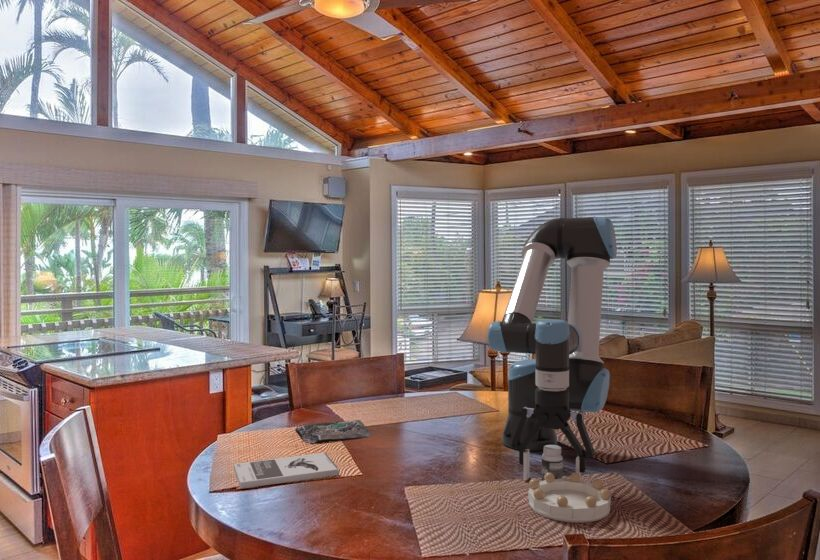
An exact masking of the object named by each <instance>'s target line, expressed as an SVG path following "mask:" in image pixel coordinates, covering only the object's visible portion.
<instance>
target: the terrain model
mask: <svg viewBox="0 0 820 560" xmlns="http://www.w3.org/2000/svg"><path fill="white" fill-rule="evenodd" d="M295 432H296V433H297V435H298V436H299V437H300V439H301V440H302V442H303V443H304V442H305V444H307V443H310V444H309V445H314V443H317V444H323V443H322V442H325V443H330V442H329V441H334V442H339V441H340V442H342V441H349V440H359V439H367V438H368V437H370V436H372V432H371V431H370V430H369V429H368V428H367V427H366V425H364V422H362V421H361V420H360V419H353V420H346V421H339V422H338V421H335V422H327V421H325V422H320V423H309V424H305V425H303V426H299V427H298V426H297V427H296V428H295Z"/></svg>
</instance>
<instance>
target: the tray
mask: <svg viewBox="0 0 820 560" xmlns="http://www.w3.org/2000/svg"><path fill="white" fill-rule="evenodd" d="M544 479H545V480H544V481H542V480H540V481H539V480H538V479H537V478H532V479H530V480H529V482H528V485H529V489H528V491H527V496H528V497H527V499H528V505H530V506H529V508H530V507H531V508H532V509H533V510H534V511H535V512H534V511H533V510H532V509H531V508H530V509H531V510H532V511H533V512H534V513H536V512H537V513H538V514H537V513H536V514H537V515H539V514H540V515H539V516H541V515H542V516H541V517H543V518H546V519H550V520H553V521H557V522H564V523H572V524H579V523H580V524H582V523H583V524H584V523H586V524H587V523H592V522H598V521H601V520H603V519H606V518H607V517H608V516H609V515H610V513H611V503H612V502H611V501H612V497H611V496H612V492H611V491H610V490H609V489H608V488H604V481H603V480H601V479H600V478H595V479H594V480H593V482H592V483H591V482H588V481H585V480H581V481H580V475H579V474H578V473H576V471H575V472H572V473H570V476H569V478H563V479H555V477H554V475H553V474H552V473H550V472H548V473H546V474H545V476H544Z"/></svg>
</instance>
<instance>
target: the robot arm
mask: <svg viewBox="0 0 820 560" xmlns="http://www.w3.org/2000/svg"><path fill="white" fill-rule="evenodd" d="M615 232H616V231H615V227H614V224H613V221H612V220H611V219H610V218H609V217H607V216H587V217H586V216H584V217H565V218H564V217H558V218H552V219H549V220H547V221H546V222H544V223H542V224H541V225H539V226H538V227H537V228H536V229H535V230H534V231H533V232H532V233H531V234H530V235H529V236H528V237H527V239H526V241H525V242H524V244H523V247H522V250H521V258H522V260H521V263H520V266H519V270H518V273H517V276H516V278H515V281H514V285H513V287H512V291H511V293H510V297H509V300H508V302H507V305H506V308H505V311H504V314H503V317H502V320H501V321H500V320H498V321H493V322H491V323H490V324H489V326H488V330H487V344H488V346H489V348H490V349H491V350H492V351H496V352H501V353H502V352H504V353H507V354H508V353H516V354H518V353H519V354H520V353H521V354H532V355H535V358H531V359H529V358H528V359H522V360H518V361H514V362H513V363H511V364H510V365H509V366H508V375H507V377H508V378H507V395H508V396H507V400H508V401H507V402H508V403H507V404H508V405H507V410H508V411H507V412H508V415H507V419H506V421H505V423H504V428H503V430H502V433H501V443H502V444H503V445H504V446H506V447H508V448H509V449H514V450H517V451H518V453H519V454H518V456H519V457H518V459H519V460H518V462H519V465H520V466H521V465H523V473H522V474H523V477H522V478H523V481H528V480H529V478H530V452H539V451H540V452H543V448H544V446H545V445H557V446H558V435H557V434H558V433H557V432H556V430H560V431H561V432H562V434H564V436H565V437H566V439H567V440H568V442H569V444H570V445H571V447H572V448H573V450H574V452H575V453H576V454H577V456H576V458H575V473H578V474H579V475H580V481H582V473H585V472H586V469H587V458H592V457H593V456H594V455H595V450H594V446H593V443H592V440H591V438H590V435H589V433H588V430H587V426H586V425H585V421H584V414H585V413H598V412H601V410H603V408H604V407H605V404H606V402H607V398H608V395H609V394H608V393H609V389H610V376H611V374H610V370H609V369H607V368H606V367H605V362H604V361H603V360H602V359H601V357H600V356H599V354H600V353H599V352H600V339H601V338H600V335H601V319H602V317H601V316H602V303H603V302H602V301H603V289H604V287H603V286H604V273H605V272H604V271H605V270H606V269H608V268H609V267H610V264H611V260H613V259H616V258H617V254H618V253H617V252H618V249H617V239H616V237H617V236H616V233H615ZM558 259H566V264H567V265H568V267H570V269H571V275H570V276H571V278H570V290H569V291H570V292H569V301H568V302H569V303H568V304H569V305H568V315H567V316H568V319H567V321H566V320H563V319H553V318H552V319H540V320H538V321H537V322H536V323H534V322H533V321H534V318H535V314H536V311H537V308H538V304H539V302H540V298H541V294H542V291H543V288H544V285H545V282H546V279H547V275H548V272H549V269H550V267H552V266H553V265H554V264H555V261H556V260H558ZM570 418H571V419H572V421H573V422H575V423H576V427H577V431H578V433H579V437H580V439H581V441H582V444H583V446H584V447H583V446H582V444H581V443H580V441H579V439H578V438H577V436H576V435H575V433H574V432H573V430H572V429H571V425H570V424H569V423H568V421H569V419H570Z"/></svg>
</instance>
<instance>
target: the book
mask: <svg viewBox="0 0 820 560" xmlns="http://www.w3.org/2000/svg"><path fill="white" fill-rule="evenodd" d="M233 471H234V474H235V476H236V477H235V478H236V480H237V482H238V485H239V489H241V490H242V489H247V488H248V489H249V488H254V487H255V488H257V487H262V486H269V485H277V484H284V483H292V482H298V481H306V480H314V479H320V478H327V477H328V476H329V477H334V476H335V475H336V476H339V475H340V471H339V467H338V466H337V465H336V464H335V463H334V462H333V460H332V459H331V458H330V457H329V456H328V454H327V453H326V452H319V453H311V454H310V453H309V454H301V455H294V456H287V457H279V458H270V459H263V460H255V461H253V460H252V461H247V462H239V463H234V464H233Z"/></svg>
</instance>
